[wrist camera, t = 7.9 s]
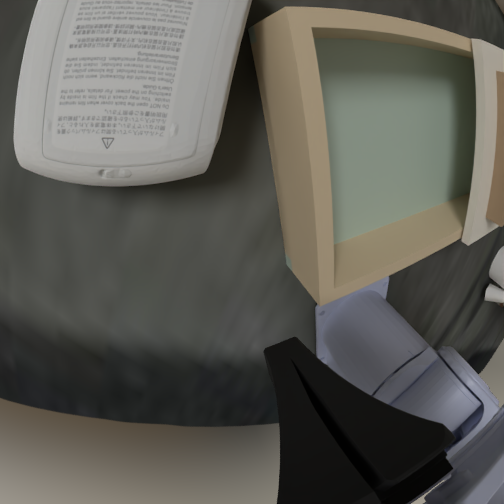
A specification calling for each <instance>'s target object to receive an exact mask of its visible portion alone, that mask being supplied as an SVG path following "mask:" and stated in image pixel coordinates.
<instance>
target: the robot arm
mask: <svg viewBox="0 0 504 504" xmlns="http://www.w3.org/2000/svg"><path fill="white" fill-rule="evenodd" d="M388 282H389V276H387V277H385V278H383V279H381V280H379V281H376V282H374V283H372V284H370V285H368V286H366V287H364V288H361V289H359V290H357V291H355V292H353V293H350V294H348V295H346V296H344V297H341V298H339V299H337V300H334V301H332V302H330V303H327V304H325V305H323V306H319V305H318V304H317V306H316V307H315V317H316V356H317V357H316V356H315V355H314V354H313V353H312V352H311V351H310V350H309V349H308V348H307V347H306V346H305V345H304V344H303V343H302V342H301V341H300V340H299V339H298V338H297V337H293V338H290V339H288V340H285V341H283V342H280V343H278V344H275V345H273V346H270V347H267V348H265V350H264V355H265V359H266V363H267V367H268V371H269V375H270V377H271V380H272V382H273V385H274V388H275V391H276V397H277V405H278V414H279V426H280V474H279V490H278V498H277V504H411V503H412V502H414V501H415V500H417V499H418V498H420V497H421V496H422V495H424V494H425V493H427V492H428V491H429V490H431V489H432V488H433V487H435V486H436V485H437V484H438V483H440V482H441V481H442V480H446V481H444V482H442V483H441V484H439V485H438V486H437V487H435V489H433V490H432V491H431V492H430V493H428V494H427V495H426V496H425V498H424V499H425V500H426V502H425V503H423V504H504V405H503V406H502V407H501V408H500V407H499V406H498V405H499V401H498V399H497V398H496V397H495V396H494V395H493V393H492V392H491V391H490V388H489V386H488V385H487V384H486V383H485V382H484V381H483V380H482V378H481V377H480V376H479V375H478V374H477V373H476V372H475V371H474V370H473V368H472V367H471V366H470V365H469V364H468V363H467V362H466V361H465V360H464V359H463V358H462V357H461V356H460V355H459V353H458V352H457V351H456V350H455V349H454V348H453V347H452V346H447V347H444V346H442V347H441V348H440V349H439V350H438V352H439V353H438V352H437V351H436V350H434V349H433V348H431V346H430V345H429V344H428V343H427V342H426V341H425V340H424V339H423V338H422V337H421V336H420V335H419V334H418V333H417V332H416V331H415V329H414V328H413V327H412V326H411V325H410V324H409V323H408V322H407V321H406V320H405V319H404V318H403V317H402V316H401V315H400V314H399V313H398V312H397V311H396V310H395V309H394V308H393V307H392V306H391V305H390V304H389V303H388V302H387V301H386V294H387V288H388ZM326 364H327V365H328V366H329V367H328V366H327V365H326Z"/></svg>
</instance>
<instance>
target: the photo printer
mask: <svg viewBox="0 0 504 504" xmlns="http://www.w3.org/2000/svg"><path fill="white" fill-rule="evenodd" d="M251 2H252V0H38V3H37V6H36V9H35V12H34V16H33V19H32V22H31V26H30V30H29V34H28V38H27V42H26V46H25V51H24V55H23V60H22V65H21V72H20V77H19V84H18V91H17V99H16V110H15V122H14V146H15V153H16V157H17V160H18V162H19V164H20V165H21V167H23V168H25V169H27V170H30V171H32V172H34V173H37V174H40V175H42V176H45V177H49V178H52V179H56V180H60V181H65V182H70V183H76V184H84V185H93V186H137V185H149V184H156V183H163V182H169V181H174V180H179V179H184V178H188V177H192V176H195V175H199V174H202V173H204V172H205V171H206V170H207V168H208V166H209V164H210V161H211V158H212V155H213V151H214V148H215V146H216V144H217V142H218V140H219V137H220V133H221V129H222V124H223V119H224V114H225V109H226V105H227V100H228V96H229V91H230V86H231V82H232V78H233V73H234V69H235V65H236V61H237V57H238V52H239V48H240V44H241V40H242V36H243V33H244V29H245V25H246V21H247V17H248V13H249V9H250V6H251Z"/></svg>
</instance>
